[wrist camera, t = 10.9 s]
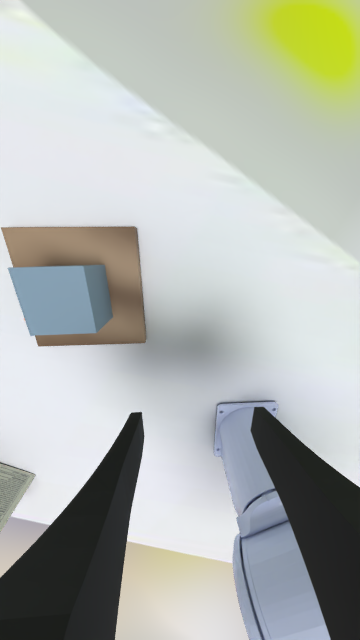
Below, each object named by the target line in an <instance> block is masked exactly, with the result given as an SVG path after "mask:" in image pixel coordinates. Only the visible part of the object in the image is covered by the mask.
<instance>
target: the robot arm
mask: <svg viewBox="0 0 360 640" xmlns="http://www.w3.org/2000/svg"><path fill="white" fill-rule="evenodd" d="M277 409H278V404H277V403H276V402H254V403H232V404H219V405H218V406H217V416H216V430H215V443H214V455H215V456H217V457H219V456H222V460H223V464H224V468H225V472H226V476H227V480H228V484H229V488H230V492H231V496H232V500H233V504H234V507H235V510H236V512H237V514H238V517H237V518H236V519H237V523H238V527H239V531H240V533H239V534H238V535H237V536H236V537H235V540H234V550H233V573H234V580H235V586H236V592H237V597H238V601H239V605H240V610H241V613H242V617H243V621H244V624H245V627H246V630H247V634H248V637H249V640H360V487H358V486H357V485H355V484H354V483H353V482H351V481H350V480H348V479H347V478H346V477H344V476H343V475H342V474H340V473H339V472H338V471H336V470H335V469H334V468H333V467H331V466H330V465H329V464H327V463H326V462H325V461H324V460H322V459H321V458H320V457H319V456H317V455H316V454H315V453H314V452H313V451H311V450H310V449H309V448H308V447H307V446H305V445H304V444H303V443H302V442H301V441H300V440H299V439H298V438H296V437H295V436H294V435H293V434H292V433H291V432H290V431H289V430H288V429H287V428H286V427H284V426H283V425H282V424H281V423H280V422H279V421H278V420H277V419H276V414H277ZM143 443H144V429H143V420H142V412H135V413H131V414H130V416H129V418H128V420H127V421H126V423H125V425H124V427H123V429H122V430H121V432H120V434H119V436H118V437H117V439H116V440H115V442H114V444H113V445H112V447H111V448H110V450H109V451H108V453H107V454H106V456H105V457H104V459H103V460H102V462H101V463H100V465H99V466H98V468H97V469H96V470H95V472H94V473H93V474H92V476H91V477H90V478H89V480H88V481H87V482H86V484H85V485H84V486H83V487H82V489H81V490H80V491H79V492H78V494H77V495H76V496H75V497H74V499H73V500H72V501H71V502H70V503H69V505H68V506H67V507H66V508H65V509H64V511H63V512H62V513H61V514H60V515H59V516H58V517H57V519H56V520H55V521H54V522H53V523H52V524H51V525H50V526H49V527H48V529H47V530H46V531H45V532H44V533H43V534H42V535H41V536H40V537H39V538H38V540H37V541H36V542H35V543H34V544H33V545H32V546H31V547H30V548H29V549H28V550H27V551H26V552H25V553H24V554H23V555H22V556H21V558H19V559H18V560H17V561H16V562H15V563H14V564H13V566H11V568H10V569H9V570H8V571H7V572H6V573H5V574H4V575H3V576H2V577H1V578H0V640H115V632H116V624H117V615H118V606H119V597H120V589H121V581H122V573H123V565H124V557H125V550H126V542H127V535H128V527H129V520H130V513H131V508H132V502H133V497H134V493H135V488H136V483H137V478H138V473H139V468H140V463H141V458H142V452H143Z"/></svg>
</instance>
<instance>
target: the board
mask: <svg viewBox="0 0 360 640" xmlns="http://www.w3.org/2000/svg"><path fill="white" fill-rule="evenodd" d="M1 229H2V232H3V236H4V239H5V242H6V245H7V248H8V251H9V255H10V258H11V261H12V264H13V267H14V268H15V267H37V266H70V265H105V269H106V276H107V282H108V288H109V295H110V301H111V307H112V314H113V318H112V319H111V320H110V321H109V322H108V323H107V324H105V325H104V326H103V327H102V328H101V329H100V330H99V331H98V332H97V333H87V334H61V335H35V337H36V340H37V344H38V346H64V345H97V344H129V343H145V342H146V329H145V317H144V305H143V293H142V281H141V269H140V258H139V246H138V234H137V228H136V227H8V228H1Z"/></svg>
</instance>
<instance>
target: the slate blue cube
mask: <svg viewBox="0 0 360 640" xmlns="http://www.w3.org/2000/svg"><path fill="white" fill-rule="evenodd" d="M8 270H9V273H10V276H11V279H12V282H13V285H14V288H15V291H16V294H17V297H18V300H19V303H20V306H21V309H22V312H23V315H24V318H25V321H26V324H27V327H28V330H29V333H30V336H34V335H61V334H87V333H97V332H98V331H99V330H100V329H101V328H102V327H103V326H104V325H105V324H107V323H108V322H109V321H110V320H111V319H112V318H113V314H112V307H111V301H110V295H109V288H108V282H107V276H106V269H105V265H70V266H37V267H15V268H8Z"/></svg>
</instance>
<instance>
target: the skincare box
mask: <svg viewBox="0 0 360 640" xmlns="http://www.w3.org/2000/svg"><path fill="white" fill-rule="evenodd" d="M34 477H35V475H34V474H32V473H29V472H26V471H23V470H19V469H16V468H13V467H10V466H7V465H4V464H0V532H1V530H2V529H3V527H4V525H5V524H6V522H7V521H8V519H9V517H10V516H11V514H12V513H13V511H14V509H15V508H16V506H17V505H18V503H19V501H20V500H21V498H22V496H23V495H24V493H25V492H26V490H27V488H28V487H29V485H30V483H31V482H32V480H33V479H34Z"/></svg>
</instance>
